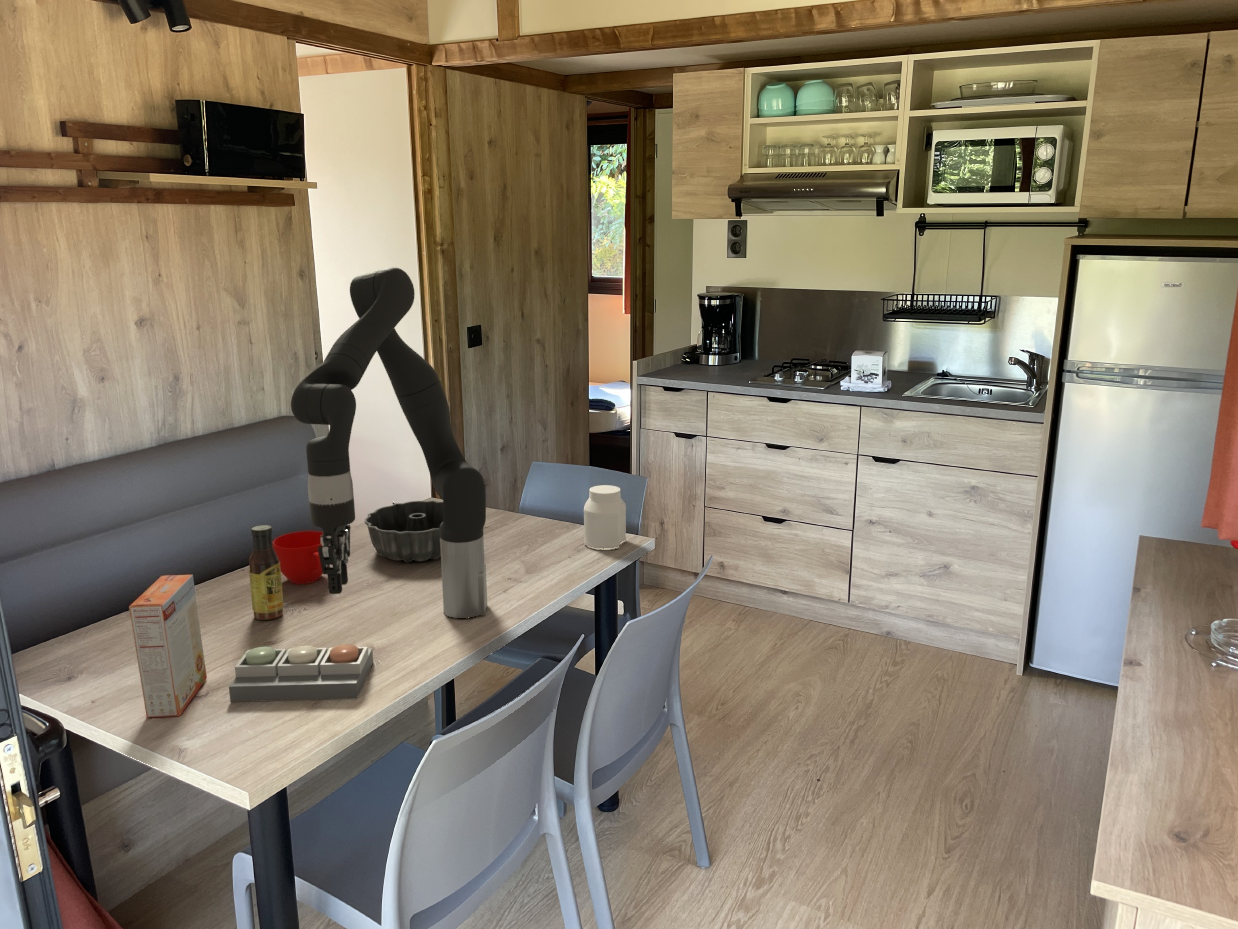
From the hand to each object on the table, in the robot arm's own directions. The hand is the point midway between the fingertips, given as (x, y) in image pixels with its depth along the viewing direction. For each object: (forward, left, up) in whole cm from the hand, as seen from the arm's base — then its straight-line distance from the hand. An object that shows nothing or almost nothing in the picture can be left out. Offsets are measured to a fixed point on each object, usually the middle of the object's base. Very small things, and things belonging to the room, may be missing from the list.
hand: (338, 588), depth 164 cm
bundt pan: (-3, -71, -19) cm, 73 cm away
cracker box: (+28, +5, -19) cm, 34 cm away
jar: (-51, -74, -18) cm, 92 cm away
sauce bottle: (+23, -31, -18) cm, 43 cm away
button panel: (+7, 0, -18) cm, 20 cm away
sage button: (+15, 0, -14) cm, 20 cm away
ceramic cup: (+20, -51, -18) cm, 58 cm away
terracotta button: (0, 0, -14) cm, 14 cm away
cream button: (+8, 0, -14) cm, 16 cm away
